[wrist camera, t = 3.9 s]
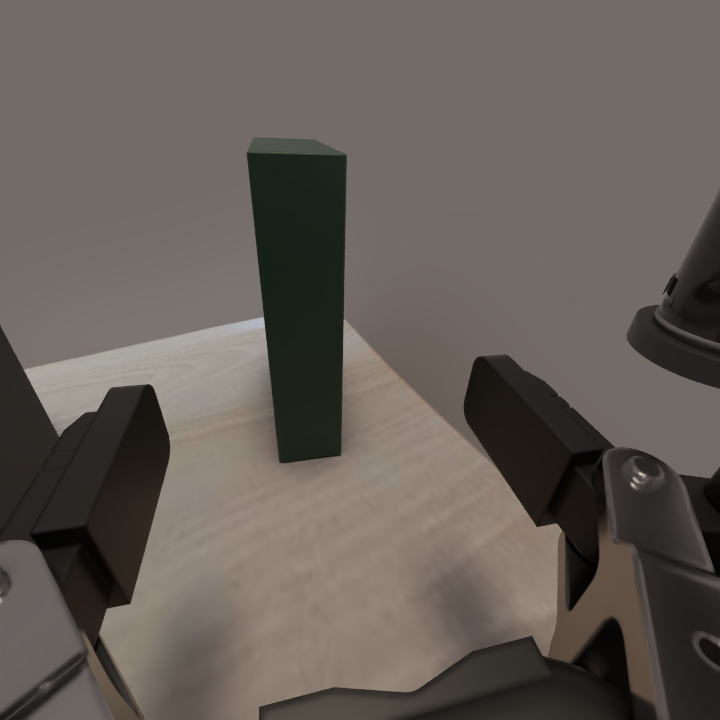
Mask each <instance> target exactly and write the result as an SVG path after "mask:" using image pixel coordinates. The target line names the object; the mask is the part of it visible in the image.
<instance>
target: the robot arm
mask: <svg viewBox="0 0 720 720" xmlns="http://www.w3.org/2000/svg"><path fill="white" fill-rule="evenodd" d="M667 289H668V290H667ZM666 290H667V292H666V295H665V296H664V298H663V300H662V302H661V304H660V305H659V306H658V307H657V309H656V311H655V313H654V315H653V321H654V323H655V324H656V325H657V326H658V327H659V328H660V329H662V330H663V331H665V332H666V333H668V334H669V335H671V336H673V337H675V338H677V339H679V340H681V341H683V342H685V343H688V344H690V345H693V346H695V347H698V348H701V349H704V350H707V351H710V352H713V353H717V354H720V188H719V189H718V191H717V193H716V195H715V197H714V199H713V201H712V203H711V205H710V208H709V209H708V211H707V213H706V215H705V217H704V219H703V221H702V223H701V225H700V227H699V229H698V231H697V233H696V235H695V237H694V239H693V241H692V243H691V245H690V247H689V249H688V251H687V253H686V255H685V257H684V259H683V261H682V262H681V264H680V266H679V268H678V270H677V272H676V273H675V274H674V275H673V276H672V278H671V279H670V281H669V283H668V285H667V287H666V289H665V290H664V293H665V291H666ZM664 293H663V294H664ZM464 414H465V418H466V421H467V423H468V425H469V426H470V428H471V429H472V431H473V432H474V434H475V435H476V437H477V438H478V440H479V441H480V443H481V444H482V446H483V447H484V449H485V450H486V452H487V453H488V455H489V456H490V458H491V459H492V461H493V462H494V464H495V465H496V467H497V468H498V470H499V471H500V473H501V474H502V476H503V477H504V479H505V480H506V482H507V483H508V484H509V486H510V487H511V489H512V490H513V492H514V493H515V495H516V496H517V498H518V499H519V501H520V502H521V504H522V505H523V507H524V508H525V510H526V511H527V513H528V514H529V516H530V517H531V519H532V520H533V522H534V523H535V525H536V526H537V527H540V526H545V525H550V524H555V523H557V524H558V525H559V526H560V528H561V529H562V532H561V534H560V536H559V540H558V597H557V622H556V628H555V632H554V635H553V638H552V641H551V645H550V650H549V656H548V657H545V656H542V654H541V652H540V650H539V648H538V646H537V645H536V643H535V641H534V639H533V637H532V636H530V637H526V638H522V639H518V640H515V641H511V642H507V643H503V644H499V645H495V646H491V647H488V648H484V649H480V650H476V651H472V652H471V653H470V654H468V655H467V656H465V657H464V658H462V659H461V660H459V661H458V662H457V663H455V664H454V665H452V666H451V667H449V668H448V669H447V670H445V671H444V672H442V673H441V674H439V675H438V676H436V677H435V678H434V679H432V680H431V681H429V682H428V683H426V684H425V685H423V686H422V687H421V688H419V689H417V690H415V691H413V692H405V693H404V692H390V691H377V690H363V689H350V688H336V687H334V688H330V689H326V690H322V691H319V692H315V693H311V694H307V695H303V696H299V697H295V698H292V699H288V700H284V701H280V702H276V703H272V704H269V705H265V706H261V707H259V720H720V467H719V469H718V470H717V471H716V472H715V474H714V475H713V476H712V477H711V479H709V478H702V477H694V476H686V475H678V474H677V473H676V472H675V471H674V470H673V469H672V468H671V467H669V466H668V465H667V464H665V463H664V462H662V461H661V460H659V459H657V458H656V457H653V456H652V455H649V454H647V453H645V452H642V451H639V450H636V449H631V448H624V447H623V448H622V447H618V448H615V447H614V446H613V445H612V444H611V443H610V442H609V441H608V440H607V439H605V438H604V437H603V436H602V435H601V434H600V433H599V432H598V431H597V430H596V429H595V428H594V427H593V426H592V425H591V424H589V423H588V422H587V421H586V420H585V419H584V418H583V417H582V416H581V415H580V414H579V413H578V412H577V411H576V410H575V409H573V408H570V407H569V404H568V403H567V402H566V401H565V400H564V399H563V398H562V397H558V394H557V393H556V392H555V391H554V390H553V389H552V388H551V387H550V386H549V385H548V384H546V382H545V381H543V380H541V379H539V378H538V377H536V376H534V375H532V374H530V373H529V372H527V371H524V370H523V369H522V368H521V367H520V366H519V365H518V364H517V363H516V362H515V361H514V360H513V359H511V357H509V356H508V355H493V356H481V357H477V359H476V360H475V361H474V363H473V367H472V371H471V375H470V379H469V384H468V388H467V393H466V396H465V400H464ZM51 451H52V454H49V455H48V457H47V458H46V460H45V461H44V463H43V465H42V466H41V472H38V473H37V474H36V476H35V477H34V479H33V481H32V482H31V484H30V485H29V487H28V488H27V490H26V492H25V493H24V495H23V496H22V498H21V500H20V501H19V503H18V504H17V506H16V508H15V509H14V511H13V512H12V514H11V516H10V517H9V519H8V520H7V522H6V523H5V525H4V527H3V528H2V530H1V531H0V720H145V718H144V716H143V714H142V712H141V710H140V709H139V707H138V705H137V703H136V701H135V699H134V697H133V695H132V693H131V691H130V689H129V687H128V686H127V684H126V682H125V680H124V678H123V676H122V674H121V672H120V670H119V668H118V666H117V664H116V663H115V661H114V659H113V657H112V655H111V653H110V651H109V649H108V647H107V645H106V643H105V641H104V640H103V638H102V636H101V634H100V633H99V631H100V628H101V625H102V622H103V619H104V616H105V612H106V609H107V608H112V607H117V606H122V605H127V604H130V603H131V599H132V596H133V592H134V588H135V585H136V581H137V577H138V573H139V570H140V566H141V562H142V559H143V555H144V551H145V547H146V544H147V540H148V536H149V533H150V529H151V525H152V521H153V518H154V514H155V510H156V507H157V503H158V499H159V495H160V492H161V488H162V484H163V481H164V477H165V473H166V469H167V466H168V462H169V456H170V441H169V435H168V432H167V428H166V425H165V422H164V419H163V416H162V412H161V409H160V406H159V403H158V400H157V396H156V393H155V391H154V388H153V387H152V386H151V385H150V384H147V385H135V386H124V387H113V388H111V389H110V390H109V391H108V393H107V394H106V396H105V398H104V400H103V402H102V403H101V405H100V407H99V409H98V411H97V412H89V413H85V414H83V415H82V416H81V417H80V418H79V419H77V420H76V421H75V422H74V423H72V424H71V425H70V426H69V427H68V428H66V429H65V430H64V431H63V433H62V434H61V436H60V438H59V439H58V441H57V442H56V444H55V446H54V447H53V449H52V450H51Z"/></svg>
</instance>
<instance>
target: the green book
mask: <svg viewBox="0 0 720 720" xmlns="http://www.w3.org/2000/svg"><path fill="white" fill-rule="evenodd" d="M346 159H347V156H346V154H344V153H342V152H340V151H337V150H335V149H333V148H331V147H329V146H327V145H324V144H322V143H320V142H317V141H316V140H306V139H280V138H253V140H252V142H251V144H250V147H249V149H248V151H247V160H248V169H249V179H250V189H251V198H252V208H253V217H254V226H255V236H256V245H257V254H258V264H259V274H260V283H261V293H262V301H263V311H264V321H265V330H266V340H267V349H268V359H269V368H270V378H271V387H272V397H273V406H274V415H275V425H276V434H277V444H278V453H279V461H280V462H287V461H295V460H302V459H310V458H317V457H325V456H332V455H340V454H341V425H342V373H343V320H344V315H343V314H344V266H345V216H346V215H345V214H346V164H347V162H346V161H347V160H346Z"/></svg>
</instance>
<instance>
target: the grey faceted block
mask: <svg viewBox="0 0 720 720" xmlns="http://www.w3.org/2000/svg"><path fill="white" fill-rule="evenodd" d="M58 439H59V436H58V434H57V432H56V430H55V428H54V427H53V425H52V423H51V421H50V419H49V417H48V415H47V413H46V411H45V409H44V408H43V406H42V404H41V402H40V400H39V398H38V396H37V394H36V392H35V391H34V389H33V387H32V385H31V383H30V381H29V379H28V377H27V375H26V374H25V372H24V370H23V368H22V366H21V364H20V362H19V360H18V358H17V356H16V355H15V353H14V351H13V349H12V347H11V345H10V343H9V341H8V340H7V338H6V336H5V334H4V332H3V330H2V328H1V326H0V531H1V530H2V528H3V527H4V525H5V523H6V522H7V520H8V519H9V517H10V516H11V514H12V512H13V511H14V509H15V508H16V506H17V504H18V503H19V501H20V500H21V498H22V496H23V495H24V493H25V492H26V490H27V488H28V487H29V485H30V484H31V482H32V481H33V479H34V477H35V476H36V474H37V473H38V472H41V466H42V465H43V463H44V461H45V460H46V458H47V457H48V455H49V454H52V451H51V450H52V449H53V447H54V446H55V444H56V442H57V441H58Z"/></svg>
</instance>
